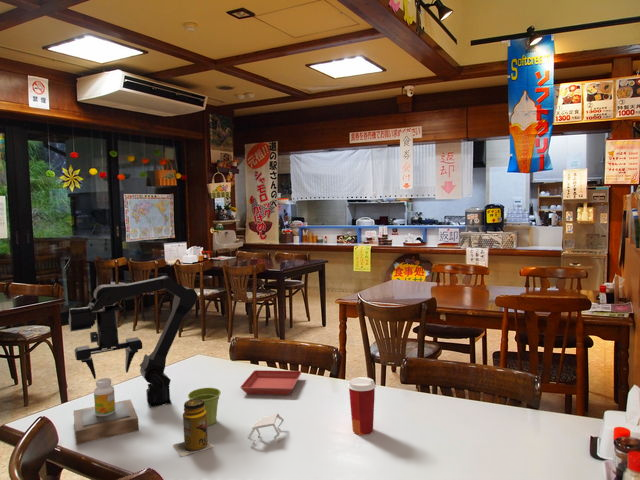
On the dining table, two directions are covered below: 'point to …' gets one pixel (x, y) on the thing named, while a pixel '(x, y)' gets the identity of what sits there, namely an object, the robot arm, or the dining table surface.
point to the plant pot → (207, 401)
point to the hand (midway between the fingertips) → (111, 375)
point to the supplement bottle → (104, 397)
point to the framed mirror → (105, 422)
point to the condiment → (194, 428)
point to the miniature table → (267, 422)
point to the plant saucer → (271, 382)
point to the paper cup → (362, 404)
